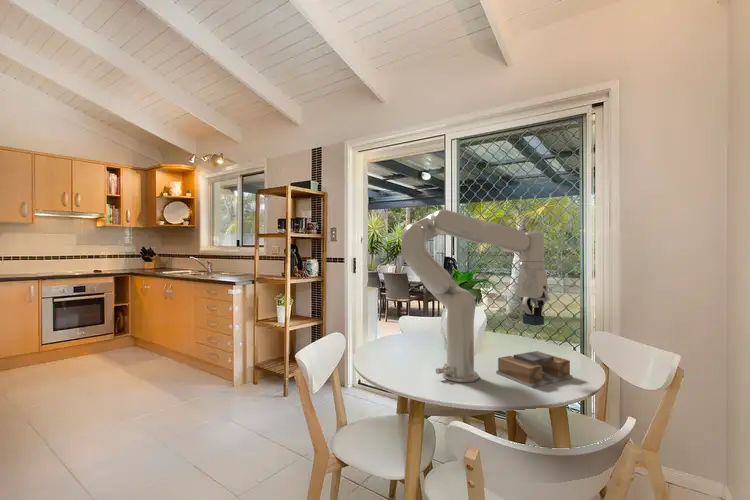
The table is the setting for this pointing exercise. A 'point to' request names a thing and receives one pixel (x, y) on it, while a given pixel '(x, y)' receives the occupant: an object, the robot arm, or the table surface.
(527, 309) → the watch
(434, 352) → the table surface
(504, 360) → the watch stand
